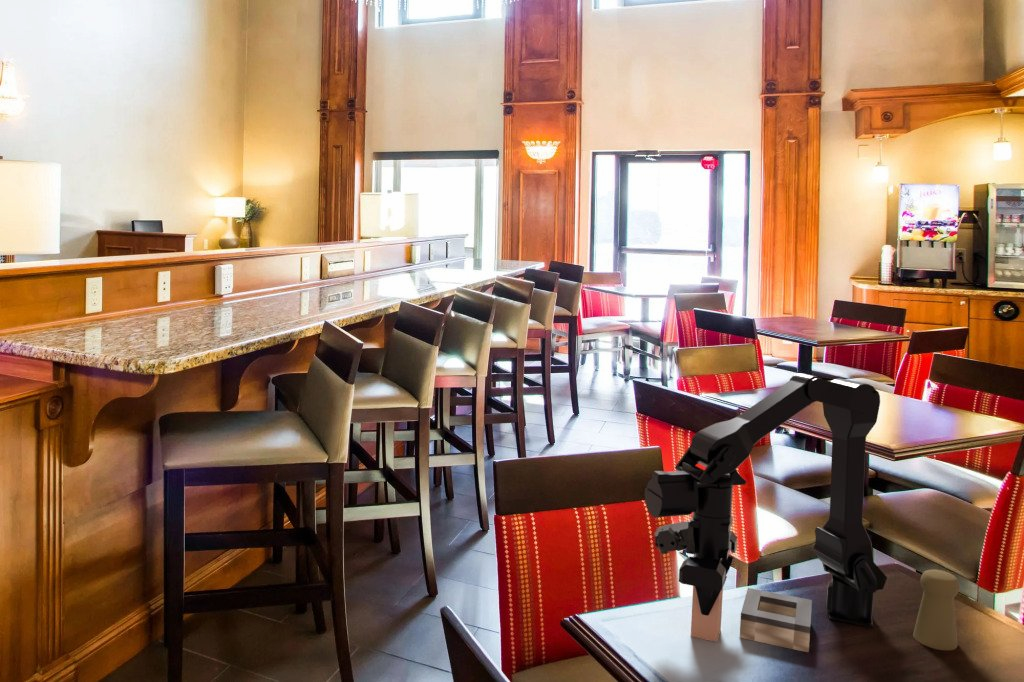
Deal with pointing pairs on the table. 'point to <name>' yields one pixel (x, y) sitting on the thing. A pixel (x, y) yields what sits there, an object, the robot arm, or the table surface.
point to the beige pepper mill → (937, 611)
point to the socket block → (776, 619)
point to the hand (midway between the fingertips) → (707, 608)
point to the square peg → (706, 619)
